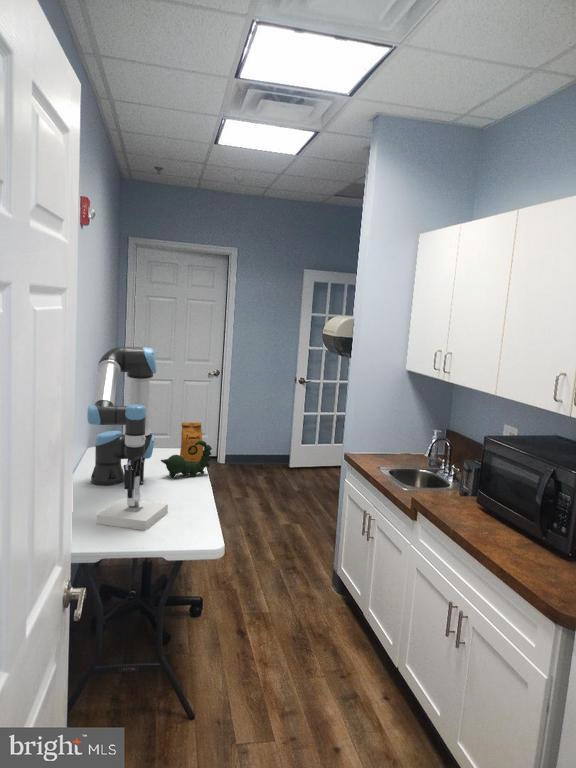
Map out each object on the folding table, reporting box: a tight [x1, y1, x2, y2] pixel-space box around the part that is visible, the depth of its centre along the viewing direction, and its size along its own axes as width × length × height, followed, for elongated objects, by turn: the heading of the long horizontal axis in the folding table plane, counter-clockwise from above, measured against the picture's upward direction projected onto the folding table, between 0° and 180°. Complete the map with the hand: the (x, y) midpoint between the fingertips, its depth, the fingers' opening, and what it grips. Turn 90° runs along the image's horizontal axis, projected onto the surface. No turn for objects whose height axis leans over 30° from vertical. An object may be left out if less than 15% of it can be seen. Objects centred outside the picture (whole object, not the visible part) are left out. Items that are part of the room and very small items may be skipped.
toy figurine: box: [160, 440, 213, 478], centre depth 271 cm, size 9×19×25 cm
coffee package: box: [179, 421, 204, 463], centre depth 299 cm, size 10×12×22 cm
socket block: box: [95, 497, 169, 531], centre depth 213 cm, size 20×20×4 cm
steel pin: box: [128, 475, 140, 508], centre depth 212 cm, size 4×4×12 cm
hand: (133, 503), depth 213 cm, fingers closed on steel pin, 4 cm apart
